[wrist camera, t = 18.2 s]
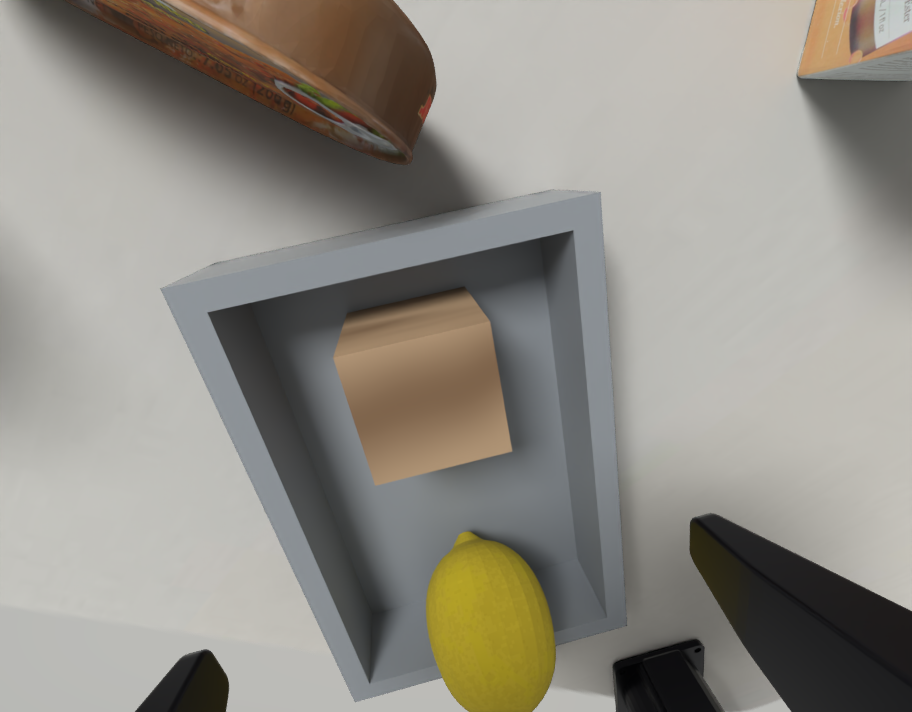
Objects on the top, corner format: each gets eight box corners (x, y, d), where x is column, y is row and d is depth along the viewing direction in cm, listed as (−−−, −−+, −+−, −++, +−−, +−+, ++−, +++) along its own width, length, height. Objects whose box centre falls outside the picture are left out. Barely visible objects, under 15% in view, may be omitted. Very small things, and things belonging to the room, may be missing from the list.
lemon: (536, 507, 23) (611, 698, 18) (472, 550, 25) (521, 724, 21) (452, 507, 19) (516, 740, 14) (389, 556, 22) (425, 764, 17)
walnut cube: (484, 390, 20) (512, 451, 16) (378, 416, 20) (375, 485, 15) (464, 286, 18) (490, 321, 14) (346, 313, 18) (332, 357, 14)
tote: (589, 556, 26) (627, 625, 22) (360, 617, 26) (354, 702, 21) (552, 189, 18) (600, 192, 14) (214, 263, 17) (160, 288, 13)
